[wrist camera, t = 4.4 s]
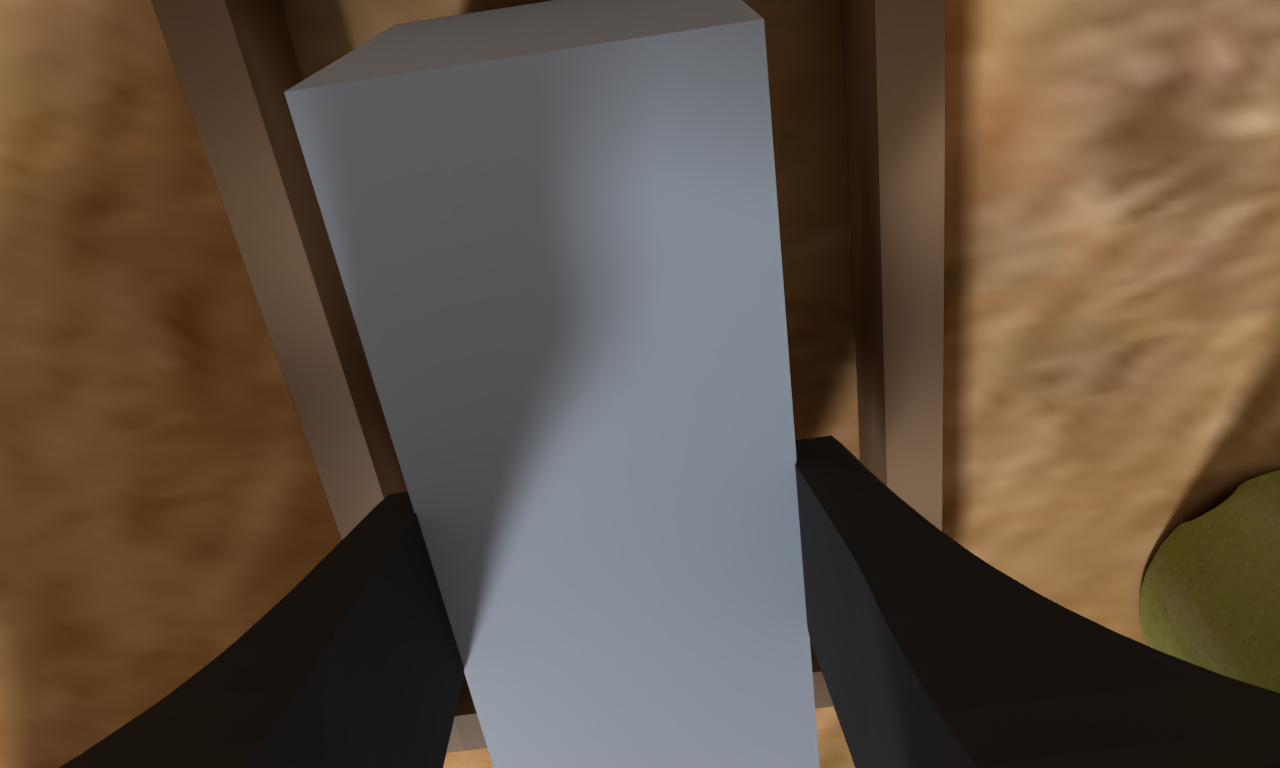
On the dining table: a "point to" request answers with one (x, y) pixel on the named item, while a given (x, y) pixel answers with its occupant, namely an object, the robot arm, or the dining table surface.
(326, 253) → the peg frame
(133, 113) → the dining table surface
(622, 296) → the blue-grey rectangular block
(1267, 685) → the plant pot
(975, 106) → the dining table surface
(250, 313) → the dining table surface
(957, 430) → the dining table surface
